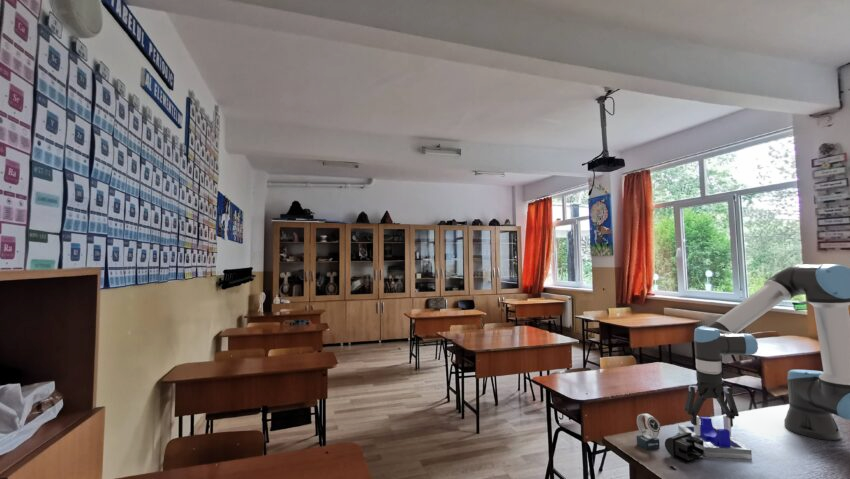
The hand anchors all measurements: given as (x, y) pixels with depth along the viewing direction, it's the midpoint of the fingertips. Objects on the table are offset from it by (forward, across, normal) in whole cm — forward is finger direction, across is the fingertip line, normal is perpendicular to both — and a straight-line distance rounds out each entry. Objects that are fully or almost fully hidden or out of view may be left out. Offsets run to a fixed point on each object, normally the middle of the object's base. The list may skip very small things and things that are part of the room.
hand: (712, 434), depth 137 cm
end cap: (+4, +14, +10) cm, 18 cm away
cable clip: (+2, 0, 0) cm, 2 cm away
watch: (+4, +23, +4) cm, 24 cm away
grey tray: (+4, 0, 0) cm, 4 cm away
